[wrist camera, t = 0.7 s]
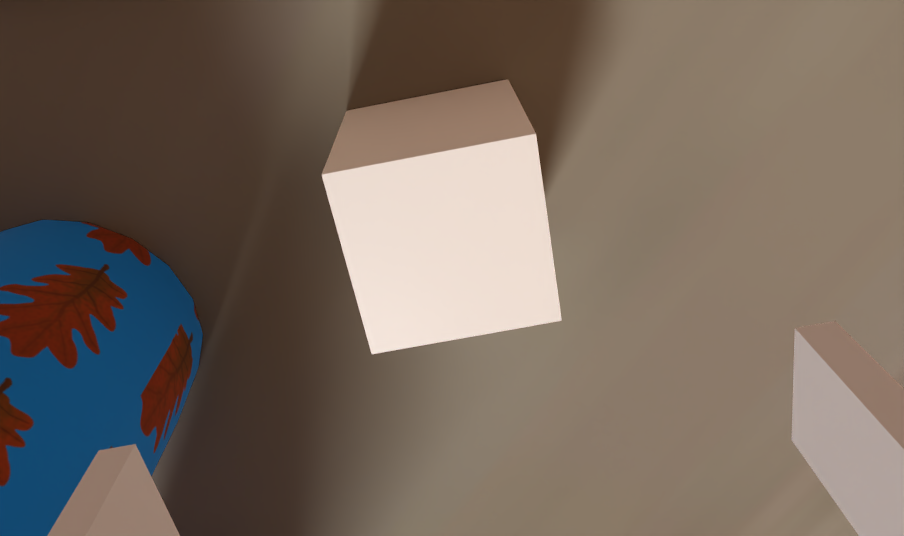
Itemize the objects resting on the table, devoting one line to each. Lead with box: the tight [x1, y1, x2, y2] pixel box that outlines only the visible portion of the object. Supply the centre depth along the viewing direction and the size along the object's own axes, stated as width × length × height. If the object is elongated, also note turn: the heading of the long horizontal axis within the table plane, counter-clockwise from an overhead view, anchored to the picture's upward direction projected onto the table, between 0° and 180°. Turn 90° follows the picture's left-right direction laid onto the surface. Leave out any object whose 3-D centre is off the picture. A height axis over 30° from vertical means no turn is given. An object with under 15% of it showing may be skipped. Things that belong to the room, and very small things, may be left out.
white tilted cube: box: [322, 79, 562, 354], centre depth 26 cm, size 6×6×8 cm
